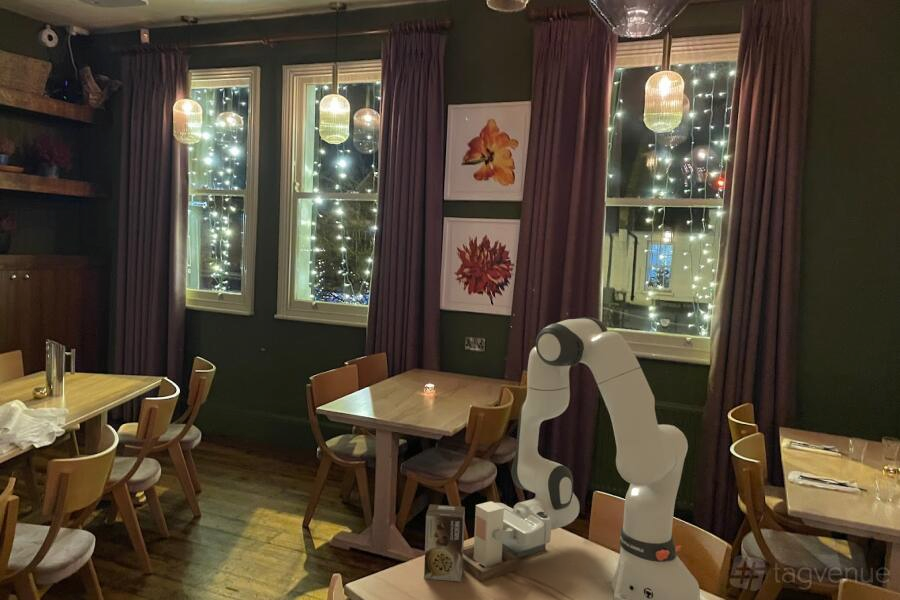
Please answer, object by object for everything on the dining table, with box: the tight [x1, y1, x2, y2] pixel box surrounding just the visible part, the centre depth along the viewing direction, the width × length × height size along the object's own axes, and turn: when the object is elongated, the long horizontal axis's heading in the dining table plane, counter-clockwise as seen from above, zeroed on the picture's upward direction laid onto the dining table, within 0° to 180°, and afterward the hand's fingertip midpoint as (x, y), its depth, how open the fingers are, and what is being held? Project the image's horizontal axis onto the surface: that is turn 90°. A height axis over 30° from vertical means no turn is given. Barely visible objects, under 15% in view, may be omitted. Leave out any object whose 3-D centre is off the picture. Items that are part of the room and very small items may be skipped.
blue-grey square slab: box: [502, 539, 547, 558], centre depth 176 cm, size 10×10×2 cm
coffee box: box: [423, 503, 466, 582], centre depth 159 cm, size 9×6×16 cm
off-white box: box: [473, 500, 504, 568], centre depth 164 cm, size 5×5×14 cm
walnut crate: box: [463, 543, 522, 582], centre depth 165 cm, size 12×12×2 cm
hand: (486, 530), depth 163 cm, fingers closed on off-white box, 5 cm apart
